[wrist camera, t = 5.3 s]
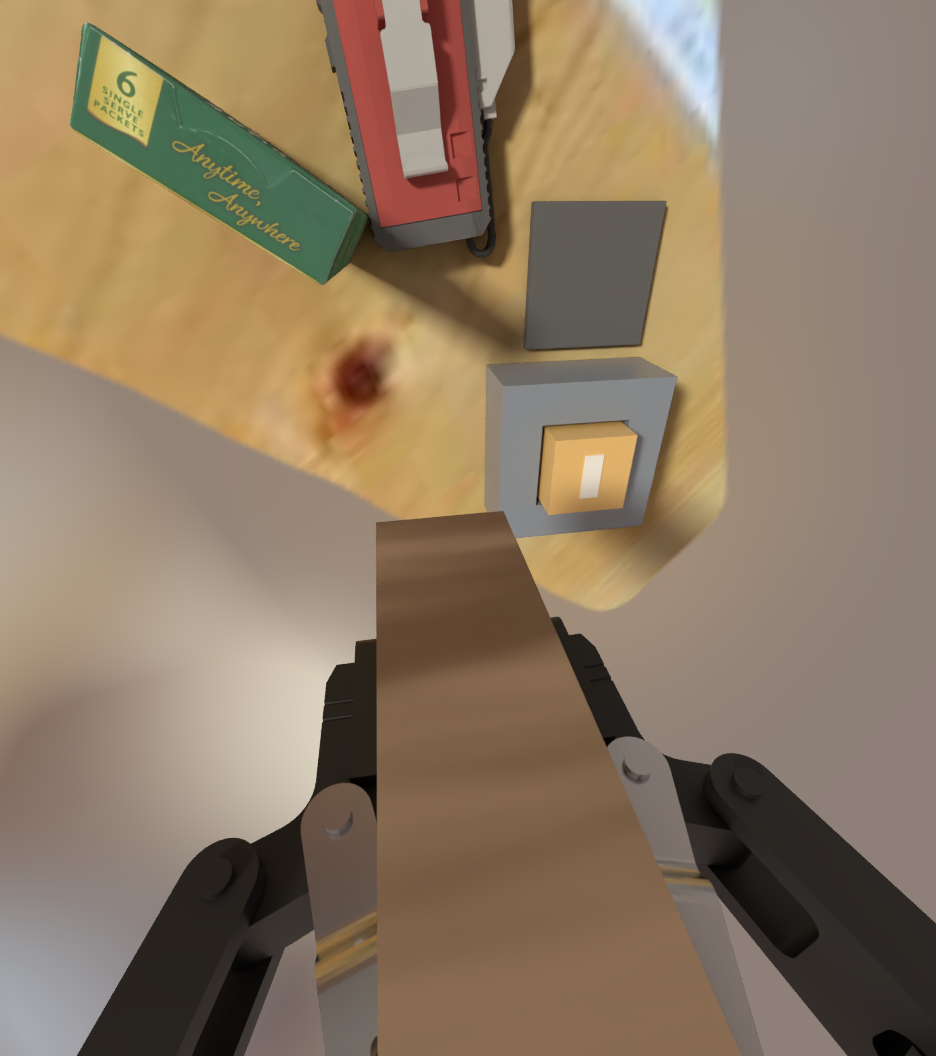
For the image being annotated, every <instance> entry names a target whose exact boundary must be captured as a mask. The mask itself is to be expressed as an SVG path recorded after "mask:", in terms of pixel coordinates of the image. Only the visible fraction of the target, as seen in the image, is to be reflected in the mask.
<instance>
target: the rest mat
mask: <svg viewBox="0 0 936 1056" xmlns="http://www.w3.org/2000/svg"><path fill="white" fill-rule="evenodd" d="M665 206H666V201H534V202H532V205H531V223H530V241H529V258H528V276H527V294H526V312H525V330H524V348H525V349H547V348H569V347H590V346H612V345H633V344H640V340H641V335H642V329H643V324H644V318H645V313H646V308H647V302H648V297H649V292H650V286H651V281H652V276H653V270H654V265H655V259H656V254H657V249H658V243H659V238H660V233H661V227H662V222H663V217H664V211H665Z"/></svg>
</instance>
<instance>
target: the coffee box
mask: <svg viewBox="0 0 936 1056" xmlns="http://www.w3.org/2000/svg"><path fill="white" fill-rule="evenodd" d="M70 126H71V129H72V130H73V131H74V132H76V133H77V134H79V135H80V136H82V137H84V138H85V139H87V140H88V141H90V142H92V143H93V144H95V145H96V146H98V147H100V148H101V149H103V150H104V151H106V152H107V153H109V154H111V155H112V156H114V157H115V158H117V159H119V160H120V161H122V162H123V163H125V164H127V165H128V166H130V167H132V168H133V169H135V170H136V171H138V172H139V173H141V174H143V175H144V176H146V177H147V178H149V179H151V180H152V181H154V182H155V183H157V184H159V185H160V186H162V187H163V188H165V189H167V190H168V191H170V192H171V193H173V194H175V195H176V196H178V197H179V198H181V199H182V200H184V201H186V202H187V203H189V204H190V205H192V206H193V207H195V208H197V209H198V210H200V211H201V212H203V213H205V214H206V215H208V216H209V217H211V218H213V219H214V220H216V221H217V222H219V223H221V224H222V225H224V226H226V227H227V228H229V229H231V230H232V231H234V232H235V233H237V234H239V235H240V236H242V237H243V238H245V239H246V240H248V241H250V242H251V243H253V244H254V245H256V246H258V247H259V248H261V249H262V250H264V251H266V252H267V253H269V254H270V255H272V256H274V257H275V258H277V259H279V260H280V261H282V262H283V263H285V264H287V265H288V266H290V267H292V268H293V269H295V270H297V271H298V272H300V273H302V274H303V275H305V276H307V277H308V278H310V279H312V280H313V281H315V282H316V283H318V284H321V285H324V284H326V283H327V282H328V281H329V280H330V279H331V278H332V277H334V276H335V275H336V274H337V273H338V272H340V271H341V270H342V269H343V268H344V267H346V266H347V265H348V264H349V263H350V260H351V257H352V255H353V253H354V251H355V248H356V246H357V244H358V242H359V240H360V237H361V235H362V233H363V231H364V229H365V227H366V224H367V222H368V220H369V217H368V215H367V214H365V213H364V212H362V211H361V210H360V209H358V208H357V207H356V206H355V205H353V204H352V203H351V202H349V201H348V200H347V199H345V198H344V197H343V196H341V195H340V194H339V193H337V192H336V191H335V190H334V189H333V188H331V187H330V186H329V185H326V184H325V183H324V182H322V181H321V180H320V179H319V178H317V177H316V176H314V175H313V174H312V173H310V172H309V171H307V170H306V169H305V168H303V167H302V166H301V165H299V164H298V163H297V162H295V161H294V160H293V159H292V158H290V157H288V156H287V155H285V154H284V153H283V152H282V151H281V150H279V149H277V148H276V147H275V146H273V145H272V144H271V143H269V142H268V141H266V140H265V139H263V138H262V137H261V136H259V135H258V134H256V133H255V132H254V131H253V130H251V129H250V128H248V127H246V126H245V125H243V124H242V123H240V122H239V121H238V120H236V119H235V118H233V117H232V116H230V115H229V114H227V113H226V112H224V111H223V110H222V109H221V108H219V107H217V106H216V105H214V104H213V103H211V102H210V101H209V100H207V99H206V98H204V97H203V96H201V95H200V94H198V93H197V92H195V91H194V90H192V89H191V88H189V87H187V86H186V85H184V84H183V83H181V82H180V81H178V80H177V79H175V78H174V77H173V76H171V75H169V74H168V73H166V72H165V71H163V70H162V69H160V68H159V67H157V66H156V65H154V64H153V63H151V62H150V61H148V60H147V59H145V58H144V57H142V56H141V55H139V54H137V53H136V52H134V51H133V50H131V49H130V48H128V47H127V46H125V45H124V44H122V43H121V42H119V41H117V40H116V39H114V38H113V37H111V36H110V35H108V34H107V33H105V32H104V31H102V30H101V29H99V28H97V27H96V26H94V25H92V24H90V23H85V24H84V25H83V27H82V31H81V43H80V52H79V59H78V66H77V74H76V86H75V94H74V98H73V108H72V114H71V119H70Z"/></svg>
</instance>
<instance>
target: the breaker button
mask: <svg viewBox="0 0 936 1056" xmlns="http://www.w3.org/2000/svg"><path fill="white" fill-rule="evenodd" d="M637 436H638V435H637V434H636V433H634V432H633V431H632V430H631V429H630V428H628V427H627V426H626V425H625V424H623V423H622V422H621V421H620V420H619V421H604V422H590V423H575V424H561V425H547V426H543V427H542V439H541V450H540V462H539V474H538V486H537V497H538V498H539V500H540V502H541V504H542V505H543V507H544V509H545V510H546V512H547V514H548V515H555V514H565V513H575V512H586V511H596V510H607V509H617V508H623V504H624V499H625V494H626V489H627V484H628V480H629V475H630V470H631V465H632V460H633V455H634V450H635V445H636V441H637Z"/></svg>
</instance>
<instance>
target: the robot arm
mask: <svg viewBox="0 0 936 1056" xmlns="http://www.w3.org/2000/svg"><path fill="white" fill-rule="evenodd" d="M550 619H551V621H552V623H553V625H554V628H555V630H556V632H557V635H558V637H559V639H560V641H561V644H562V646H563V648H564V651H565V653H566V655H567V658H568V660H569V662H570V664H571V667H572V669H573V671H574V674H575V676H576V678H577V680H578V683H579V685H580V687H581V690H582V692H583V694H584V696H585V699H586V701H587V703H588V706H589V708H590V710H591V712H592V715H593V717H594V719H595V722H596V724H597V726H598V729H599V731H600V733H601V735H602V738H603V740H604V742H605V745H606V747H607V749H608V751H609V754H610V756H611V758H612V761H613V763H614V765H615V767H616V770H617V772H618V774H619V777H620V779H621V781H622V783H623V786H624V788H625V790H626V793H627V795H628V797H629V800H630V802H631V804H632V806H633V809H634V811H635V813H636V816H637V818H638V820H639V822H640V825H641V827H642V829H643V832H644V834H645V836H646V838H647V841H648V843H649V845H650V848H651V850H652V852H653V854H654V857H655V859H656V861H657V864H658V866H659V868H660V871H661V873H662V875H663V877H664V880H665V882H666V884H667V887H668V889H669V891H670V893H671V896H672V898H673V900H674V903H675V905H676V907H677V909H678V912H679V914H680V916H681V919H682V921H683V923H684V925H685V928H686V930H687V932H688V935H689V937H690V939H691V942H692V944H693V946H694V948H695V951H696V953H697V955H698V958H699V960H700V962H701V964H702V967H703V969H704V971H705V974H706V976H707V978H708V980H709V983H710V985H711V987H712V990H713V992H714V994H715V996H716V999H717V1001H718V1003H719V1006H720V1008H721V1010H722V1013H723V1015H724V1017H725V1019H726V1022H727V1024H728V1026H729V1029H730V1031H731V1033H732V1035H733V1038H734V1040H735V1042H736V1045H737V1047H738V1049H739V1051H740V1054H741V1056H764V1054H763V1051H762V1047H761V1044H760V1041H759V1037H758V1034H757V1031H756V1027H755V1023H754V1020H753V1016H752V1013H751V1009H750V1006H749V1002H748V999H747V996H746V992H745V989H744V985H743V982H742V978H741V975H740V971H739V968H738V964H737V961H736V957H735V954H734V951H733V947H732V944H731V940H730V937H729V933H728V930H727V926H726V923H725V919H724V916H723V912H722V909H721V905H720V902H719V899H718V897H719V898H720V899H721V901H722V902H723V903H724V904H725V906H726V907H727V908H728V909H729V910H730V912H731V913H732V914H733V915H734V917H735V918H736V919H737V920H738V922H739V923H740V924H741V925H742V927H743V928H744V929H745V930H746V931H747V933H748V934H749V935H750V936H751V938H752V939H753V940H754V941H755V943H756V944H757V945H758V946H759V947H760V949H761V950H762V951H763V952H764V953H765V955H766V956H767V957H768V959H769V960H770V961H771V962H772V963H773V965H774V966H775V967H776V968H777V969H778V971H779V972H780V973H781V974H782V976H783V977H784V978H785V979H786V981H787V982H788V983H789V984H790V986H791V987H792V988H793V989H794V990H795V992H796V993H797V994H798V995H799V997H800V998H801V999H802V1000H803V1002H804V1003H805V1004H806V1005H807V1006H808V1008H809V1009H810V1010H811V1011H812V1013H813V1014H814V1015H815V1016H816V1017H817V1018H818V1020H819V1021H820V1022H821V1024H822V1025H823V1026H824V1027H825V1029H826V1030H827V1031H828V1032H829V1034H831V1036H832V1037H833V1038H834V1040H835V1041H836V1042H837V1043H838V1045H839V1046H840V1047H841V1048H842V1049H843V1050H844V1052H845V1053H846V1054H847V1056H936V924H935V922H934V921H933V920H931V919H930V918H929V917H928V916H927V915H926V914H925V913H924V912H923V911H922V910H921V909H919V908H918V907H917V906H916V905H915V904H914V903H913V902H912V901H911V900H909V898H907V897H906V896H905V895H904V894H903V893H902V892H901V891H900V890H899V889H898V888H897V887H895V886H894V885H893V884H892V883H891V882H890V881H889V880H888V879H887V878H886V877H884V876H883V875H882V874H881V873H880V872H879V871H878V870H877V869H876V868H875V867H874V866H873V865H871V864H870V863H869V862H868V861H867V860H866V859H865V858H864V857H863V856H862V855H861V854H859V853H858V852H857V851H856V850H855V849H854V848H853V847H852V846H851V845H850V844H848V843H847V842H846V841H845V840H844V839H843V838H842V837H841V836H840V835H839V834H837V832H835V831H834V830H833V829H832V828H831V827H830V826H829V825H828V824H827V823H826V822H825V821H823V820H822V819H821V818H820V817H819V816H818V815H817V814H816V813H815V812H813V811H812V810H811V809H810V808H809V807H808V806H807V805H806V804H805V803H804V802H803V801H802V800H800V799H799V798H798V797H797V796H796V795H795V794H794V793H793V792H792V791H791V790H790V789H788V788H787V787H786V786H785V785H784V784H783V783H782V782H781V781H780V780H779V779H778V778H776V777H775V776H774V775H773V774H772V773H771V772H770V771H769V770H768V769H767V768H765V767H764V766H763V765H762V764H760V763H759V762H757V761H755V760H753V759H752V758H749V757H747V756H744V755H741V754H735V753H728V754H723V755H721V756H719V757H717V758H716V759H715V760H714V762H713V763H712V765H708V764H702V763H695V762H689V761H684V760H678V759H674V758H671V757H668V756H666V755H664V754H662V753H661V752H660V751H659V750H658V749H657V748H656V747H655V746H653V745H652V744H650V743H649V742H647V741H645V740H644V738H643V737H642V736H641V734H640V733H639V731H638V729H637V727H636V725H635V723H634V721H633V720H632V718H631V716H630V714H629V712H628V710H627V708H626V706H625V704H624V702H623V700H622V698H621V696H620V694H619V692H618V690H617V688H616V686H615V684H614V682H613V681H611V677H610V675H609V673H608V671H607V669H606V667H604V663H603V661H602V659H601V657H600V655H599V653H598V651H597V649H596V647H595V646H594V645H592V644H591V643H590V642H589V641H588V640H587V639H586V638H585V637H584V636H583V635H582V634H574V635H568V632H567V630H566V628H565V626H564V624H563V622H562V620H561V619H560V617H552V618H550ZM324 703H325V706H324V710H323V722H322V729H321V739H320V749H319V758H318V767H317V778H316V784H315V789H314V792H313V795H312V797H311V799H310V801H309V803H308V804H307V806H306V807H305V808H304V810H303V811H302V812H301V813H300V814H299V815H298V816H297V817H296V818H295V819H294V820H293V821H291V822H290V823H289V824H287V825H286V826H284V827H282V828H281V829H279V830H277V831H275V832H273V833H271V834H269V835H267V836H265V837H263V838H261V839H259V840H257V841H255V842H254V843H251V844H250V843H249V842H247V841H245V840H243V839H240V838H227V839H223V840H220V841H217V842H215V843H213V844H211V845H209V846H208V847H206V848H205V849H204V850H202V851H201V852H200V853H199V854H198V855H197V856H196V857H195V858H194V859H193V860H192V861H191V862H190V863H189V864H188V866H187V867H186V869H185V870H184V872H183V873H182V875H181V877H180V878H179V880H178V882H177V884H176V885H175V887H174V889H173V890H172V893H171V894H170V896H169V897H168V899H167V901H166V903H165V905H164V906H163V908H162V910H161V911H160V913H159V915H158V917H157V918H156V920H155V922H154V923H153V925H152V927H151V929H150V930H149V932H148V934H147V936H146V937H145V939H144V941H143V942H142V944H141V946H140V948H139V949H138V951H137V953H136V954H135V956H134V958H133V960H132V962H131V963H130V965H129V967H128V968H127V970H126V972H125V974H124V975H123V977H122V979H121V980H120V982H119V984H118V986H117V987H116V989H115V991H114V993H113V994H112V996H111V998H110V1000H109V1001H108V1003H107V1005H106V1006H105V1008H104V1010H103V1012H102V1013H101V1015H100V1017H99V1018H98V1020H97V1022H96V1024H95V1025H94V1027H93V1029H92V1031H91V1032H90V1034H89V1036H88V1038H87V1039H86V1041H85V1043H84V1044H83V1046H82V1048H81V1050H80V1051H79V1053H78V1055H77V1056H244V1054H245V1051H246V1049H247V1046H248V1044H249V1041H250V1038H251V1036H252V1033H253V1030H254V1028H255V1025H256V1023H257V1020H258V1017H259V1014H260V1012H261V1009H262V1007H263V1004H264V1001H265V999H266V996H267V994H268V991H269V988H270V986H271V983H272V980H273V978H274V975H275V972H276V970H277V967H278V965H279V962H280V959H281V957H282V954H283V951H284V949H285V947H287V946H288V945H290V944H292V943H293V942H295V941H297V940H298V939H300V938H301V937H303V936H304V935H306V934H308V933H309V932H311V931H313V930H314V932H315V939H316V948H317V958H316V961H315V971H316V972H315V973H316V985H317V994H318V1002H319V1009H320V1017H321V1024H322V1032H323V1039H324V1047H325V1055H326V1056H378V1037H377V639H371V640H363V641H356V646H355V663H348V664H340V665H336V667H335V669H334V671H333V672H332V674H331V676H330V677H329V679H328V681H327V683H326V692H325V701H324Z"/></svg>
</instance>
